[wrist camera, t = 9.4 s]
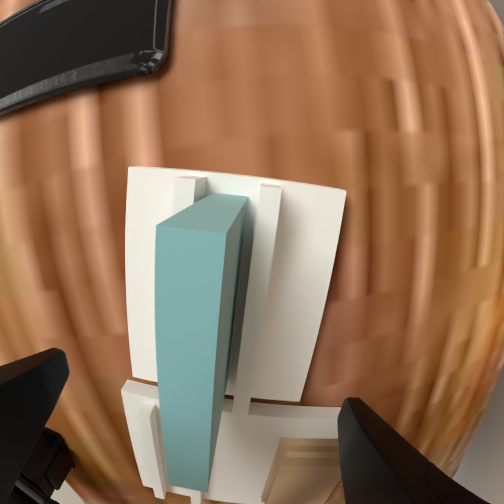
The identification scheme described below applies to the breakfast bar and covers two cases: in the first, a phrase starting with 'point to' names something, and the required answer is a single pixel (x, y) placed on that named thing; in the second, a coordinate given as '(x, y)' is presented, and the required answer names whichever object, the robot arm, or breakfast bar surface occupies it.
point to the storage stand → (242, 273)
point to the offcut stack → (303, 471)
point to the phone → (79, 46)
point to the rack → (223, 443)
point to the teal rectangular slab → (195, 329)
